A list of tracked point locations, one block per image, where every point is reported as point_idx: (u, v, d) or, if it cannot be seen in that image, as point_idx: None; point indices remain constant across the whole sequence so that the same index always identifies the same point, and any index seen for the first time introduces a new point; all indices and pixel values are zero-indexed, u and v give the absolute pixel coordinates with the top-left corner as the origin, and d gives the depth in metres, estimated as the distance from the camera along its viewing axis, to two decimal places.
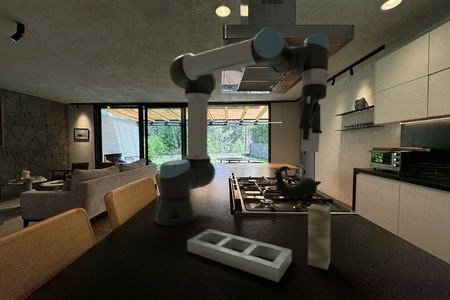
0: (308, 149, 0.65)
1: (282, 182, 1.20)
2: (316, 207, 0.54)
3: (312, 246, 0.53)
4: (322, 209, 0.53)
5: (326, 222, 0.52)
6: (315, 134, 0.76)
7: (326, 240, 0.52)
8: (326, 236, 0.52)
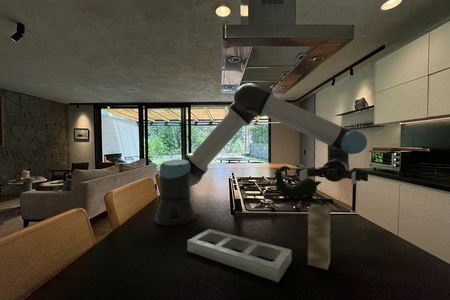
0: (354, 182, 0.59)
1: (282, 182, 1.20)
2: (316, 207, 0.54)
3: (312, 246, 0.53)
4: (322, 209, 0.53)
5: (326, 222, 0.52)
6: (306, 174, 0.71)
7: (326, 240, 0.52)
8: (326, 236, 0.52)
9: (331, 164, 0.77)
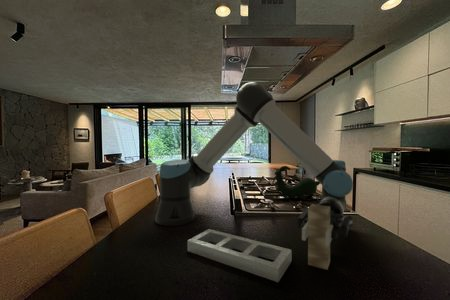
0: (329, 243, 0.49)
1: (282, 182, 1.20)
2: (316, 207, 0.54)
3: (312, 246, 0.53)
4: (322, 209, 0.53)
5: (326, 222, 0.52)
6: None
7: None
8: None
9: None
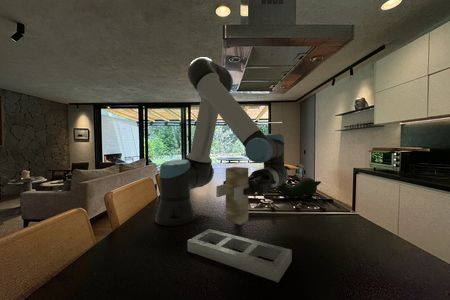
0: (237, 197, 0.52)
1: None
2: (234, 168, 0.58)
3: (228, 204, 0.57)
4: (237, 168, 0.56)
5: (239, 180, 0.55)
6: None
7: None
8: None
9: (257, 174, 0.70)
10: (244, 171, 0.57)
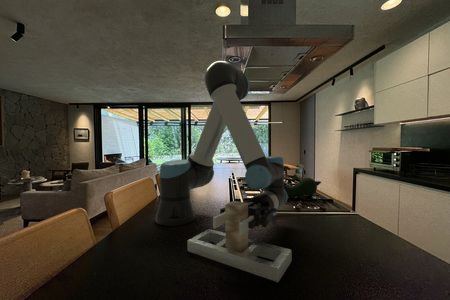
0: (243, 232, 0.52)
1: None
2: (233, 203, 0.58)
3: (228, 240, 0.57)
4: (237, 205, 0.56)
5: (239, 217, 0.55)
6: None
7: None
8: None
9: (257, 200, 0.70)
10: (244, 207, 0.57)
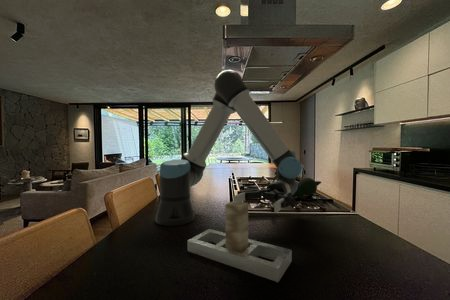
0: (277, 210, 0.63)
1: None
2: (234, 203, 0.58)
3: (228, 240, 0.57)
4: (237, 205, 0.56)
5: (239, 217, 0.55)
6: (244, 197, 0.75)
7: (239, 234, 0.55)
8: (239, 230, 0.55)
9: (272, 187, 0.81)
10: (244, 207, 0.57)
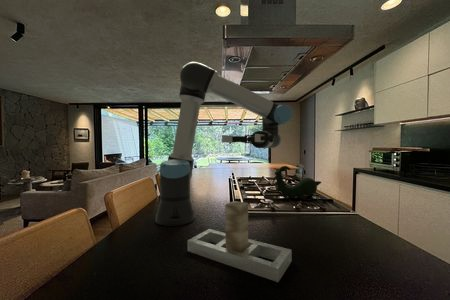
0: (257, 140, 0.75)
1: (282, 182, 1.20)
2: (233, 203, 0.58)
3: (228, 240, 0.57)
4: (237, 205, 0.56)
5: (239, 217, 0.55)
6: (231, 139, 0.87)
7: (239, 234, 0.55)
8: (239, 230, 0.55)
9: (257, 134, 0.94)
10: (244, 207, 0.57)
